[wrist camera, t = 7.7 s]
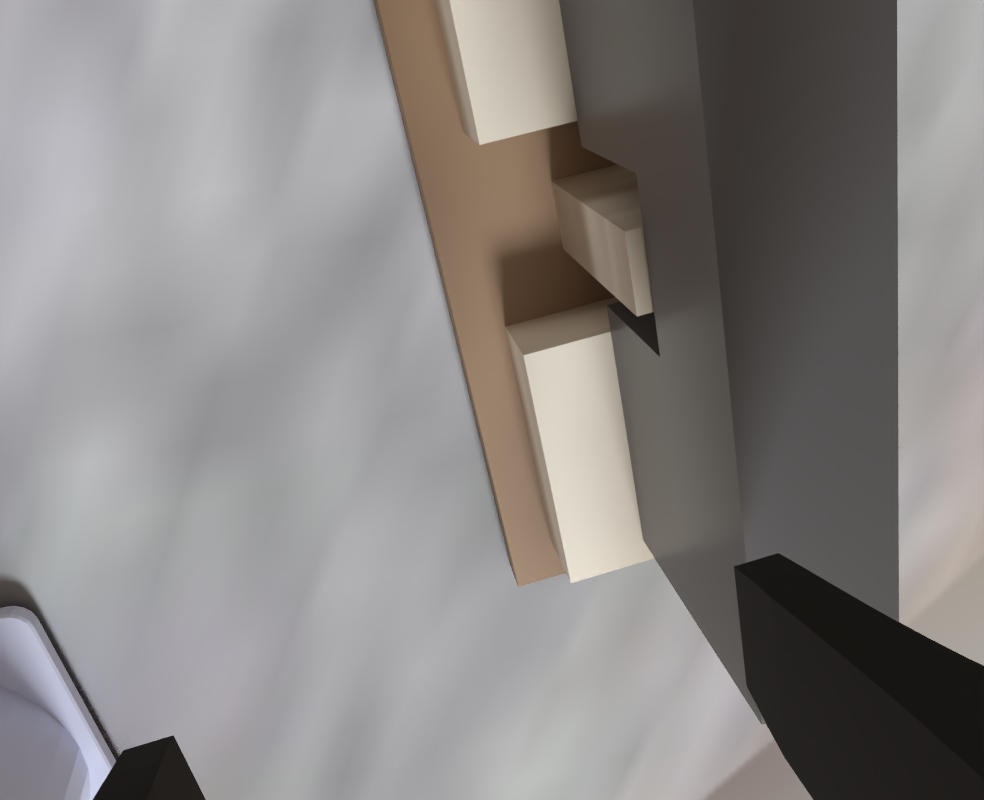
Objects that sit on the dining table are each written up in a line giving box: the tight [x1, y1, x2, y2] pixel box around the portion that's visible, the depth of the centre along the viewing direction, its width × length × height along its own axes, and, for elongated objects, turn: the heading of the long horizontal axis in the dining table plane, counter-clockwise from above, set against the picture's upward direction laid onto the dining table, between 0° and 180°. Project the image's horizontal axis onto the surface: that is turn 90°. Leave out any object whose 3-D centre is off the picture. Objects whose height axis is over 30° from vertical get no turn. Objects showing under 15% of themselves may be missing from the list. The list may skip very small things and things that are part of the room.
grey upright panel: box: [559, 0, 899, 724], centre depth 14 cm, size 14×3×6 cm, turn 12°
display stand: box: [374, 0, 654, 587], centre depth 16 cm, size 8×17×5 cm, turn 12°
